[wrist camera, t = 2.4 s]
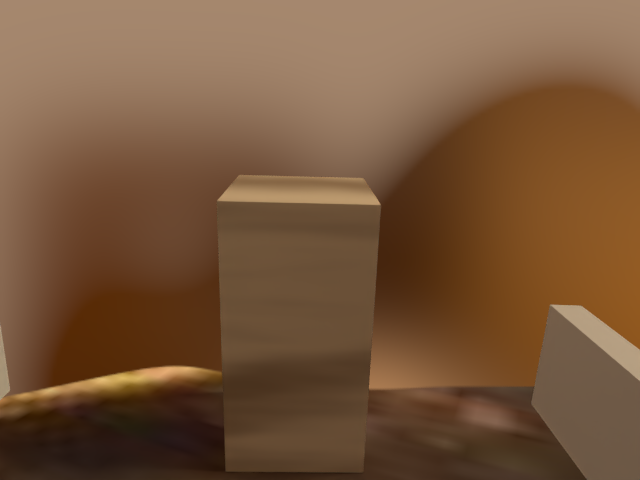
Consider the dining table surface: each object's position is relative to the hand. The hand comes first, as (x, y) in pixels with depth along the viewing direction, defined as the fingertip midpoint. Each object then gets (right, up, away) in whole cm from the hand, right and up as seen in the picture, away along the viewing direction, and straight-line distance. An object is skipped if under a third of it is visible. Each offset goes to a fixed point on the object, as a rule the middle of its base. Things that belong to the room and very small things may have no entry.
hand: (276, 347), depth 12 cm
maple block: (0, -7, +12) cm, 14 cm away
